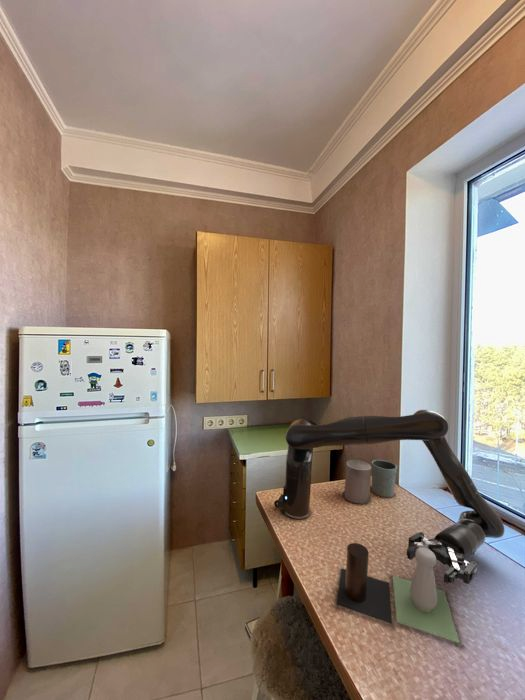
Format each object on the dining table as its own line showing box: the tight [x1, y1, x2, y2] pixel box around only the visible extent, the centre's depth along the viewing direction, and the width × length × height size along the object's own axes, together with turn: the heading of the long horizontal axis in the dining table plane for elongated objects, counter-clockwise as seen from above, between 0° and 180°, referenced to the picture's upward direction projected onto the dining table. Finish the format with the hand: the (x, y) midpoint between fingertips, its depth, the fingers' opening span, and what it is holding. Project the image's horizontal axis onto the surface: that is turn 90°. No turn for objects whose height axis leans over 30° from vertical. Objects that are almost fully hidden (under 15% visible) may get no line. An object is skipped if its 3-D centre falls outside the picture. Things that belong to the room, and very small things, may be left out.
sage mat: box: [392, 575, 460, 646], centre depth 70 cm, size 12×14×1 cm
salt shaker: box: [410, 547, 438, 613], centre depth 70 cm, size 6×6×13 cm
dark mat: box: [336, 568, 393, 625], centre depth 73 cm, size 12×12×1 cm
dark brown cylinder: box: [345, 542, 370, 603], centre depth 72 cm, size 5×5×11 cm
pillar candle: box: [343, 459, 372, 505], centre depth 119 cm, size 10×10×15 cm
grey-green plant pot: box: [370, 459, 398, 498], centre depth 125 cm, size 10×10×12 cm
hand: (426, 566), depth 70 cm, fingers open, 8 cm apart
